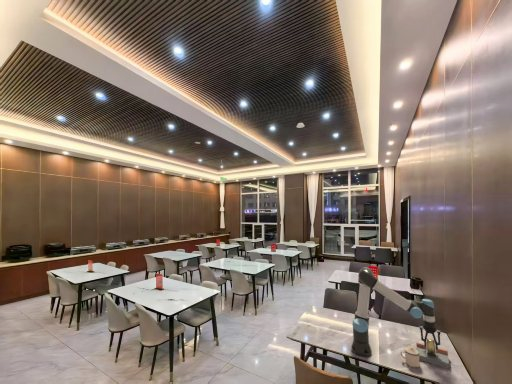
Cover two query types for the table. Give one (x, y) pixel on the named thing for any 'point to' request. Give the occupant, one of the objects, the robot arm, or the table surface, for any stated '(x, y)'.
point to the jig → (438, 359)
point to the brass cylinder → (431, 347)
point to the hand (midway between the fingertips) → (431, 352)
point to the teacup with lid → (411, 357)
